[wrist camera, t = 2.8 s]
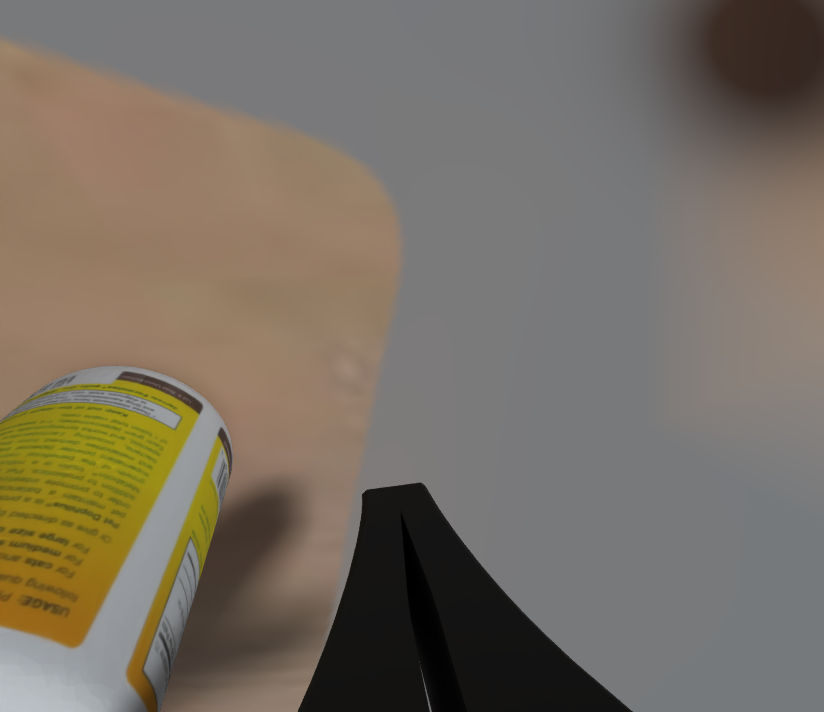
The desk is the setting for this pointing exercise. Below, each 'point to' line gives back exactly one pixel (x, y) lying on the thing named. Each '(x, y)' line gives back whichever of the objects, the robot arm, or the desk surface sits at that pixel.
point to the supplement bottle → (103, 536)
